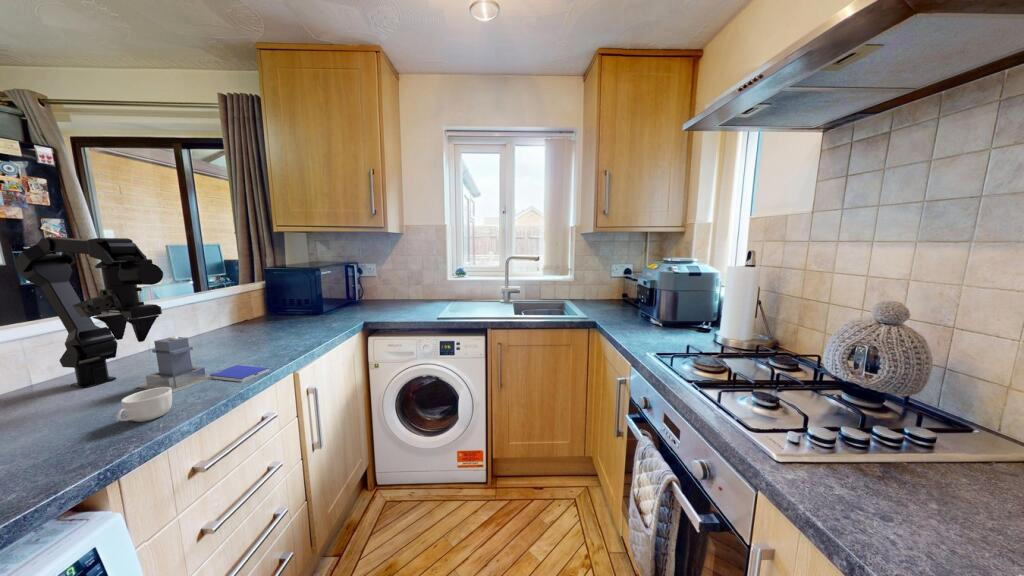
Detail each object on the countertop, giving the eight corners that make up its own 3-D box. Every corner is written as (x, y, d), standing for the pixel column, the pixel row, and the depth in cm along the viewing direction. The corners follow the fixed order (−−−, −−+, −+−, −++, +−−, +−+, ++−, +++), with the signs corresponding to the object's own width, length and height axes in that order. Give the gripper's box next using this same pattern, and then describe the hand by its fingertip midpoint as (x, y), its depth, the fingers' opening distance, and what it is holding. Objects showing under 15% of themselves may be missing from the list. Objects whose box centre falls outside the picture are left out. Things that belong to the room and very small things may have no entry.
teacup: (152, 408, 80) (149, 387, 79) (184, 408, 80) (181, 386, 79) (101, 431, 70) (97, 407, 69) (138, 431, 70) (134, 407, 69)
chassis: (137, 387, 92) (135, 376, 91) (181, 373, 101) (180, 363, 101) (172, 392, 88) (170, 380, 88) (214, 378, 98) (213, 367, 97)
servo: (157, 381, 94) (150, 338, 92) (176, 375, 98) (170, 333, 96) (178, 384, 91) (171, 340, 90) (197, 378, 96) (191, 335, 94)
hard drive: (209, 374, 98) (242, 377, 95) (238, 364, 106) (269, 367, 103) (210, 379, 98) (242, 383, 95) (238, 369, 106) (269, 372, 103)
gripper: (52, 287, 84) (64, 347, 86) (99, 289, 79) (110, 352, 82) (114, 282, 95) (123, 335, 97) (158, 284, 90) (167, 339, 92)
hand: (130, 340), depth 92 cm, fingers open, 9 cm apart
